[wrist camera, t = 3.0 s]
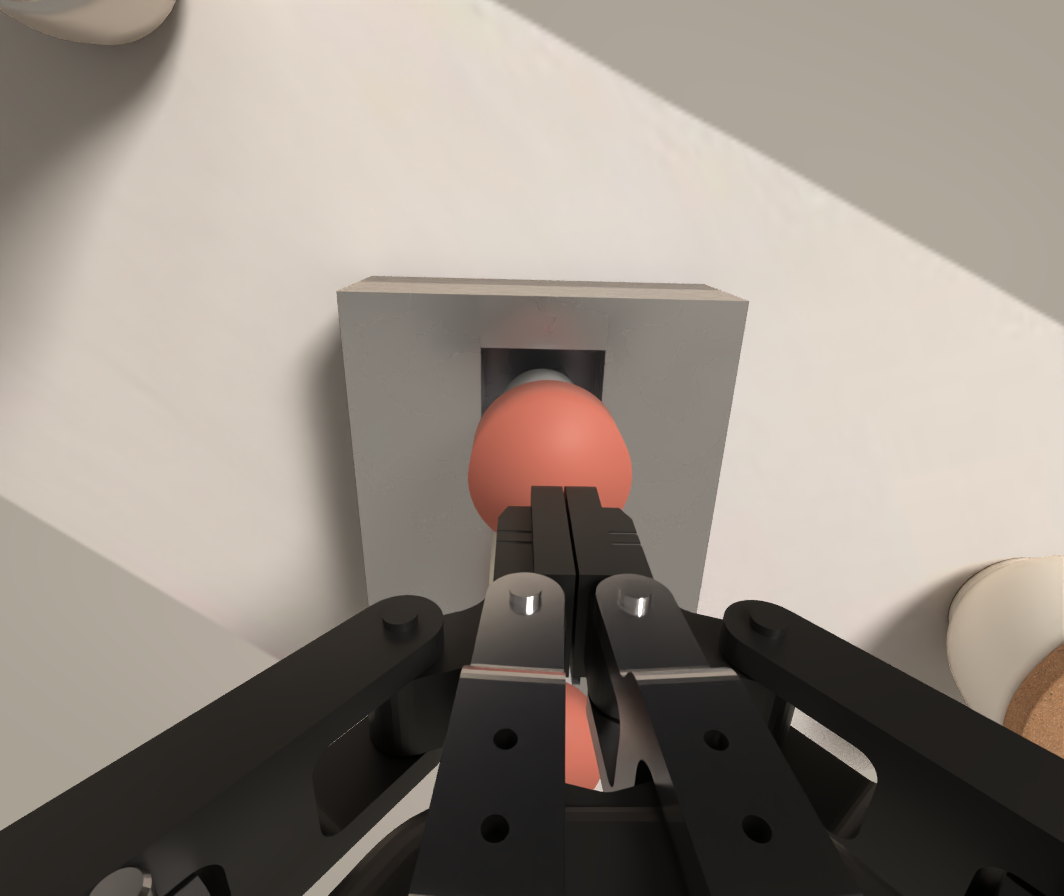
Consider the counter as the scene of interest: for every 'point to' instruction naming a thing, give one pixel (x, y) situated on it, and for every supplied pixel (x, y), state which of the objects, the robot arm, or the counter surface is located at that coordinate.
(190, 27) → the counter surface
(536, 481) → the knob inner
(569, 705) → the knob outer
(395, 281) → the panel
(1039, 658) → the lidded jar
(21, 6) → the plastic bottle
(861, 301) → the counter surface
